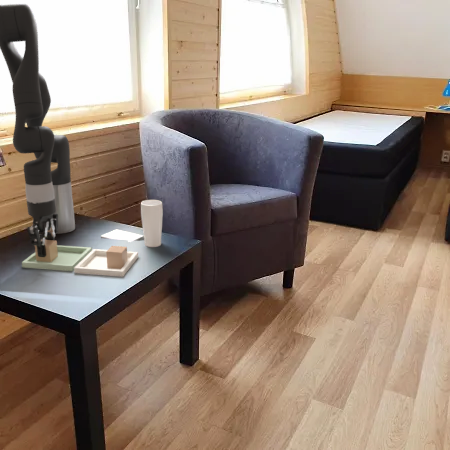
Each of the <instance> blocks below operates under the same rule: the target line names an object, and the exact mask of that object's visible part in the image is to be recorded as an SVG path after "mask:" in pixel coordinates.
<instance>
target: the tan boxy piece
mask: <svg viewBox="0 0 450 450" xmlns="http://www.w3.org/2000/svg"><path fill="white" fill-rule="evenodd" d="M44 245H45V249H46V256H45V257H39V256H38V252H37V246H36V245H34V253H36V261H44V262H52V261H53V260H54V259H55V258H56V257H57V256H58V251H57V245H58V242H57V240H55V239H54V240H46V239H45V244H44Z"/></svg>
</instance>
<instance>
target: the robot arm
mask: <svg viewBox="0 0 450 450" xmlns="http://www.w3.org/2000/svg"><path fill="white" fill-rule="evenodd" d="M14 42H15V43H17V42H19V43H20V42H25V47H24V54H23V56H22V54H21V53H20V52H19V51H18V48H17V47H16V46H15V44H14ZM0 51H1V53H2V55H3V56H2V57H3V58H4V61H5V63H6V66H7V69H8V73H9V75H10V79H11V82H12V96H13V103H14V104H13V105H14V109H15V112H14V113H15V124H14V130H13V134H12V135H13V136H12V144H13V148H14V149H15V151H17V152H18V153H19V154H33V155H34V157H35V159H34V160H33V159H32V160H29V161H27V162H25V163H24V164H23V175H24V182H25V191H24V192H25V199H26V204H27V213H28V215H29V216H31V217H32V220H33V221H32V225H31V226H27V228H26V229H27V232H28V233H27V234H28V237H29V240H30V244H31V246H35V245H36V246H37V252H38V256H39V257H45V256H46V249H45V245H44V244H45V240H55V237H56V234H57V235H58V234H66V233H67V234H68V233H70V232H73V231H74V230H75V229H76V224H75V223H76V222H75V220H76V219H75V211H74V201H73V190H72V189H73V188H72V178H71V157H70V156H71V154H70V142H69V139H68V137H67V136H66V135H64V134H54V132H53V130H52V129H51V128H50V127H49V126H46V125H43V122H44V120H45V118H46V116H47V113H48V111H49V109H50V106H51V102H52V100H51V95H50V91H49V87H48V85H47V81H46V79H45V78H44V76H43V75H42V74H41V73H40V71H39V69H40V68H39V67H40V66H39V62H40V61H39V60H40V58H39V57H40V56H39V34H38V23H37V19H36V16H35V13H34V11H33V8H32V7H31V6H30V5H29V4H28V3H14V4H11V3H10V4H0ZM52 163H53V164H55V163H56V164H57V167H56V168H55V169H53V170H51V169H52V167H51V164H52Z"/></svg>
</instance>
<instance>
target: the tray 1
mask: <svg viewBox="0 0 450 450" xmlns="http://www.w3.org/2000/svg"><path fill="white" fill-rule="evenodd" d="M92 250H93V247H89V246H88V247H87V246H74V245H60V244H59V245H58V244H57V251H58V256H57V257H56V258H55V259H54V260H53V261H52V262H44V261H36V253H35V252H34V253H32V254H31V255H29V256H28V257H27V258H25V259H24V260H23V261H21V268H26V269H38V270H40V269H42V270H50V271H51V270H53V271H64V272H74V267H75V266H77V265H78V264H79V263H80V262H81V261H82V260H83V259H84V258H85V257H86V256H87V255H88V254H89V253H90V252H91V251H92Z"/></svg>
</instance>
